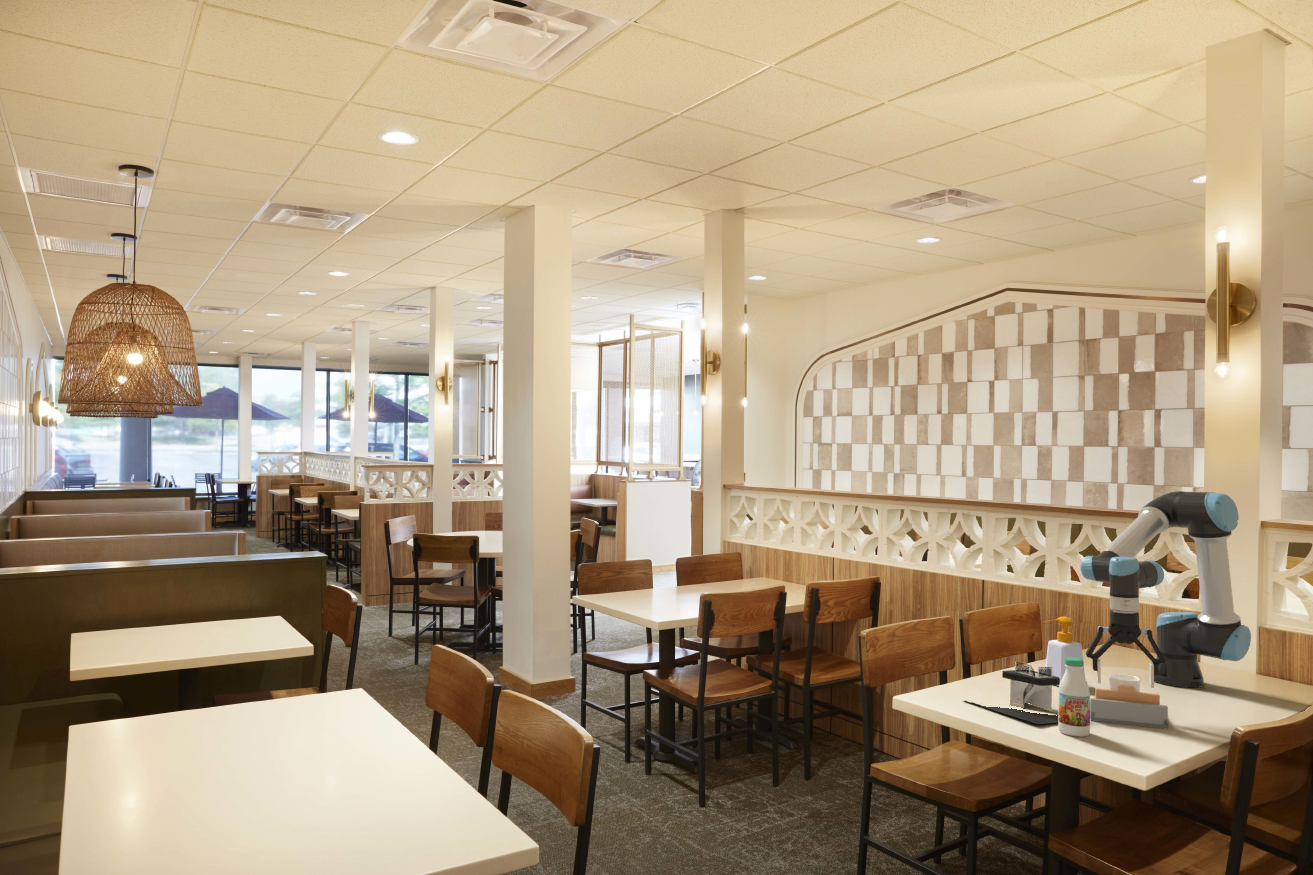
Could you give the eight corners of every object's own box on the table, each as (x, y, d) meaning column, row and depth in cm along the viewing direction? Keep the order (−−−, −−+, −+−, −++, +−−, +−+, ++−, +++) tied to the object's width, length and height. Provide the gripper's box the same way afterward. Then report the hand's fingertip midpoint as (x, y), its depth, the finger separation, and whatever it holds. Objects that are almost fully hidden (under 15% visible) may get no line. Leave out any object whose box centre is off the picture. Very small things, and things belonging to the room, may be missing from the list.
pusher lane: (1155, 710, 258) (1155, 689, 258) (1167, 728, 240) (1167, 706, 240) (1084, 702, 264) (1084, 682, 265) (1091, 720, 247) (1091, 699, 247)
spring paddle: (1158, 718, 245) (1158, 688, 245) (1160, 721, 242) (1160, 691, 243) (1094, 711, 251) (1094, 682, 251) (1096, 714, 248) (1096, 685, 248)
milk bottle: (1052, 728, 239) (1052, 655, 239) (1079, 727, 240) (1079, 655, 240) (1068, 737, 231) (1068, 662, 232) (1096, 737, 232) (1096, 661, 232)
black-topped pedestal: (962, 700, 265) (963, 656, 266) (1024, 696, 276) (1025, 653, 277) (1037, 724, 240) (1038, 675, 240) (1103, 718, 251) (1104, 671, 251)
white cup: (1133, 708, 255) (1133, 674, 255) (1145, 716, 247) (1145, 681, 247) (1104, 707, 256) (1104, 673, 256) (1115, 715, 248) (1116, 680, 248)
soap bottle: (1031, 682, 287) (1031, 615, 288) (1065, 679, 292) (1065, 613, 292) (1053, 690, 278) (1053, 620, 279) (1087, 687, 283) (1087, 618, 283)
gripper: (1077, 610, 253) (1078, 683, 253) (1176, 616, 244) (1177, 691, 244) (1075, 605, 260) (1076, 677, 260) (1171, 611, 251) (1171, 684, 251)
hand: (1124, 684), depth 252 cm, fingers open, 13 cm apart
